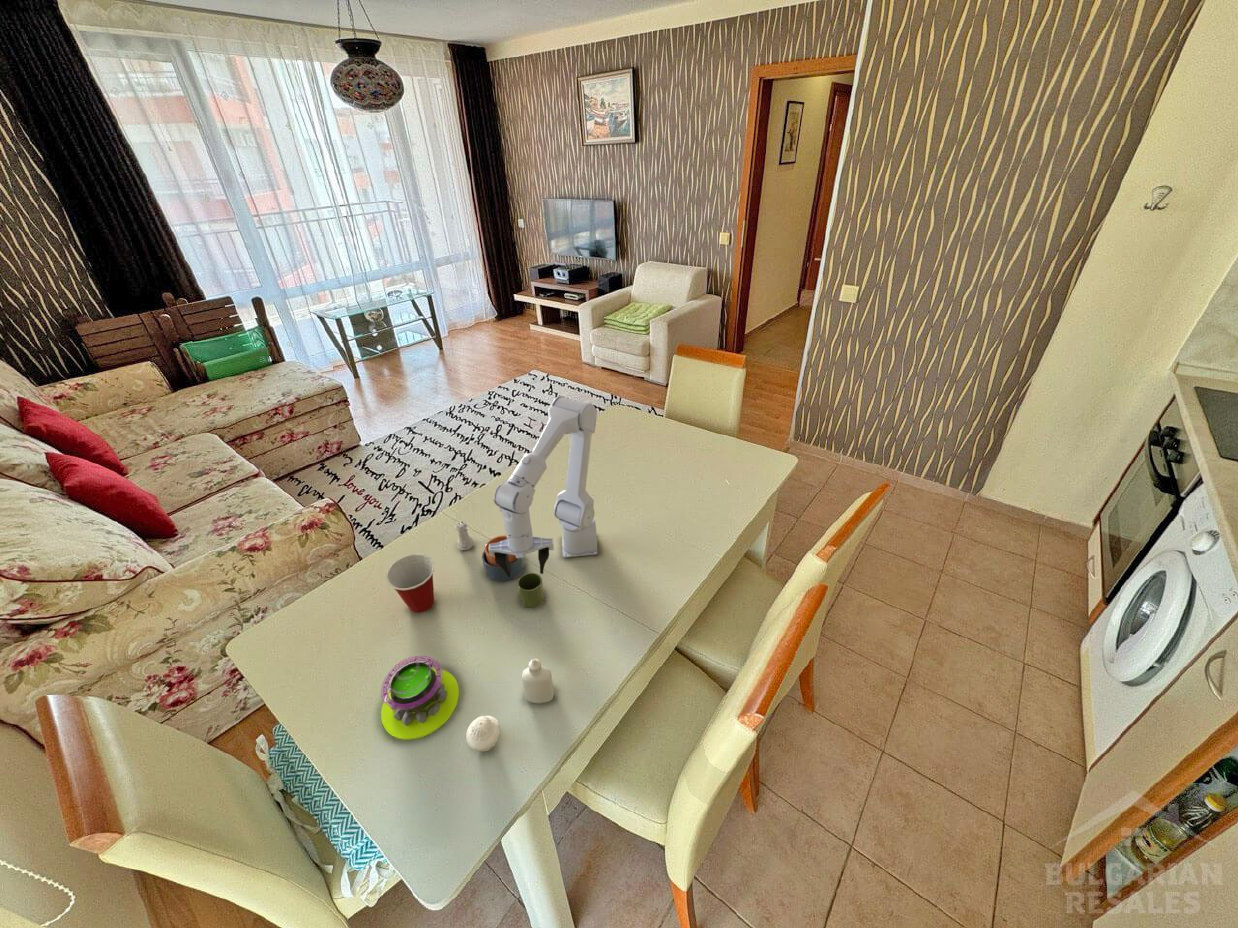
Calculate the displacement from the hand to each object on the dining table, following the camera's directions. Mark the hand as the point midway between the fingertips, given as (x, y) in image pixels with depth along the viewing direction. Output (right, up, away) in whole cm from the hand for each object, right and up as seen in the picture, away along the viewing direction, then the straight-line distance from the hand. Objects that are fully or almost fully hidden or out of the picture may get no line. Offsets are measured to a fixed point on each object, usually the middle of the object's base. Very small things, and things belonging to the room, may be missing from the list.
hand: (525, 572), depth 116 cm
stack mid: (-8, -2, +13) cm, 16 cm away
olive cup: (+1, -7, +4) cm, 9 cm away
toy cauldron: (-18, -22, -18) cm, 34 cm away
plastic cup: (-26, -9, +3) cm, 28 cm away
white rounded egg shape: (-3, -27, -25) cm, 36 cm away
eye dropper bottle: (+6, -22, -17) cm, 28 cm away
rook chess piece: (-21, +3, +21) cm, 29 cm away
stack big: (-8, -2, +13) cm, 16 cm away
